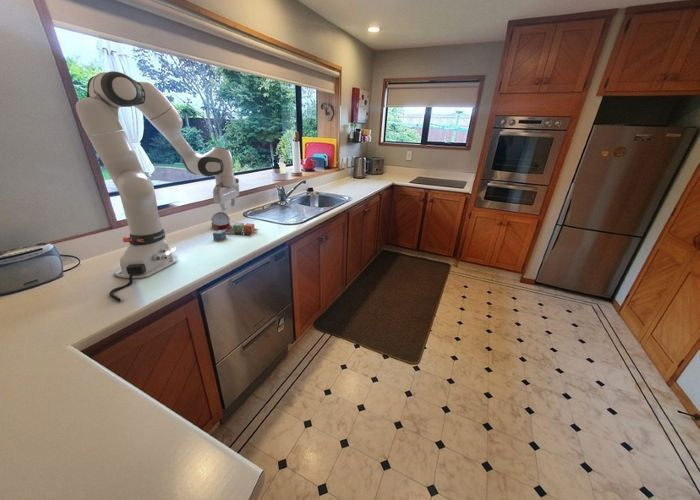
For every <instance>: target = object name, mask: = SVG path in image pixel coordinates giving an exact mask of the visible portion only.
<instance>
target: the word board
mask: <svg viewBox="0 0 700 500" xmlns="http://www.w3.org/2000/svg"><path fill="white" fill-rule="evenodd" d="M224 231H225V234H226V236H237V237H251V236H252V235H253V234H254V233H255V232H257V231H258V228H255V232H253V233H252V234H247V233H244V231H243V232H242V233H234V231H233V226H232V227H231V226H230V227H229V228H226V229H224Z"/></svg>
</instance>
